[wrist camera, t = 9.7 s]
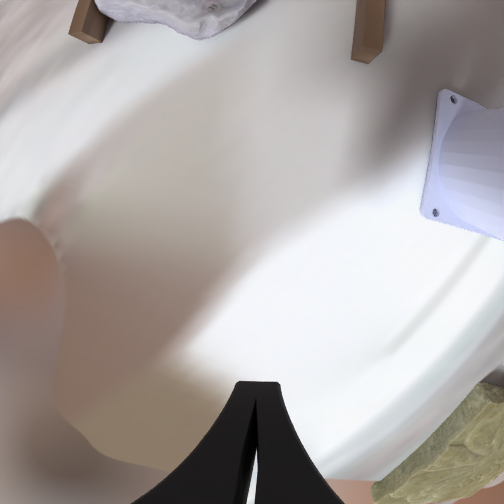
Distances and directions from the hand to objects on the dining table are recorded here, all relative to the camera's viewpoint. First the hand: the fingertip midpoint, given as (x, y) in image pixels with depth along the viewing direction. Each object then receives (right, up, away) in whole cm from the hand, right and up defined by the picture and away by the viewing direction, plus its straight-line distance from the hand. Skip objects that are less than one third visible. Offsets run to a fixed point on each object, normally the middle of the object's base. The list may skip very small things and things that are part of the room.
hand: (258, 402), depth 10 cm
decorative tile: (+26, -17, +14) cm, 34 cm away
